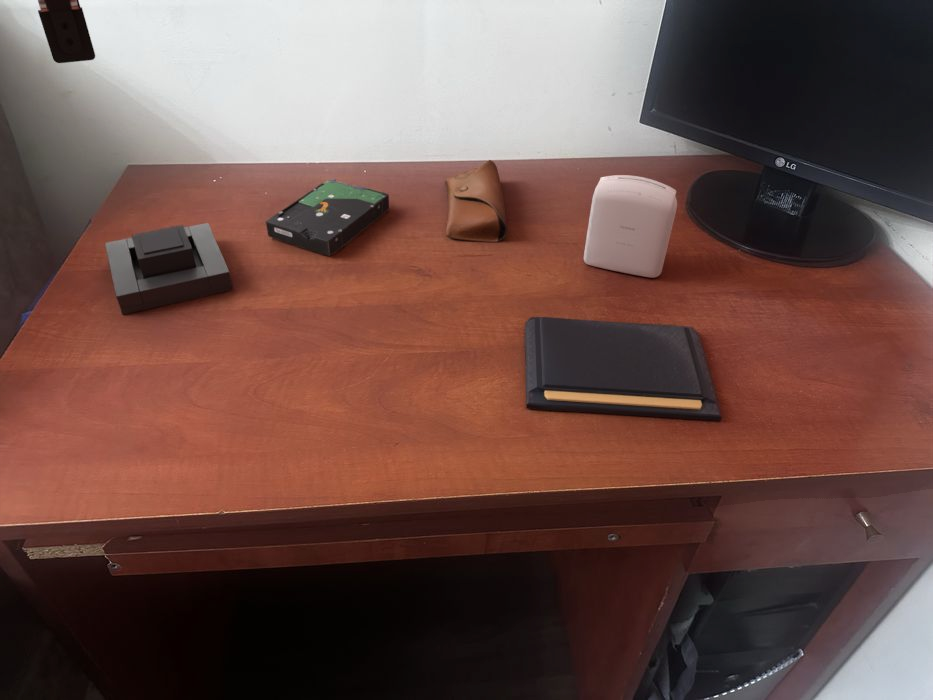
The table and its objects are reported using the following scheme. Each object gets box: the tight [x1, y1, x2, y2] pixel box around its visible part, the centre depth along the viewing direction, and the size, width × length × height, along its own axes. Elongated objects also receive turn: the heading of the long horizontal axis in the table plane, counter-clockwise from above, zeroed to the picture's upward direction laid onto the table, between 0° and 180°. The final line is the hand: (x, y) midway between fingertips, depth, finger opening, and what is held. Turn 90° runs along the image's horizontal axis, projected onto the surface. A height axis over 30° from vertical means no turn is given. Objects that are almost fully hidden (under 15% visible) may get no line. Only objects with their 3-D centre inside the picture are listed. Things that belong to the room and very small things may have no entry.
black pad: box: [131, 224, 197, 279], centre depth 85 cm, size 6×6×4 cm
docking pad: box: [104, 222, 234, 316], centre depth 86 cm, size 12×12×3 cm
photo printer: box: [583, 174, 678, 279], centre depth 88 cm, size 10×4×12 cm, turn 70°
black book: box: [524, 316, 723, 422], centre depth 76 cm, size 20×2×15 cm
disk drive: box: [265, 178, 390, 257], centre depth 97 cm, size 10×3×15 cm
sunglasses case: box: [444, 159, 508, 243], centre depth 102 cm, size 18×7×7 cm, turn 3°
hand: (71, 44), depth 63 cm, fingers open, 9 cm apart
